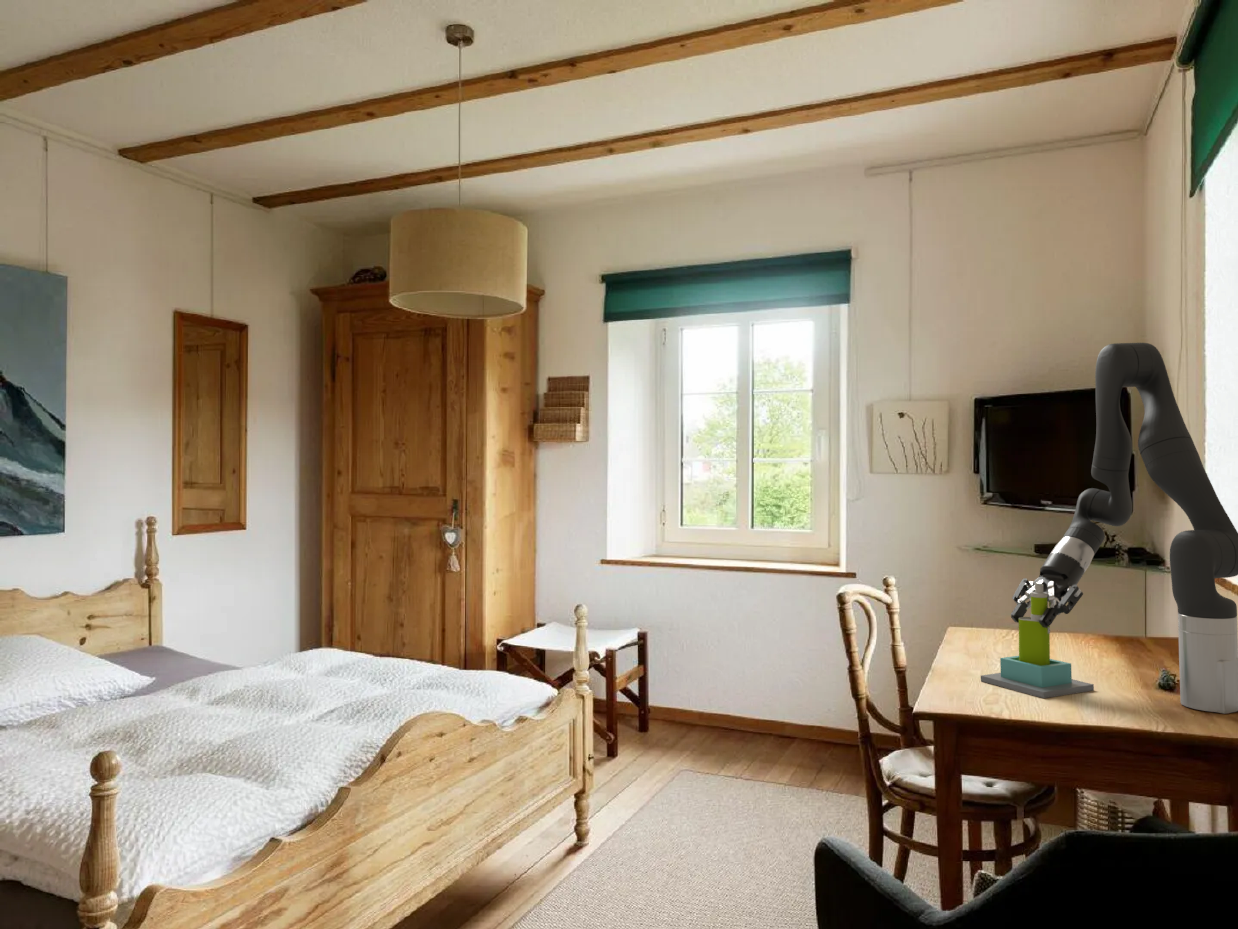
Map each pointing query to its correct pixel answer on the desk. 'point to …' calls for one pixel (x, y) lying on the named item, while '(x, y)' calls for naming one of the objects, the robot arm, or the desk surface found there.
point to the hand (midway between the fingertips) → (1028, 622)
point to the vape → (1035, 631)
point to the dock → (1037, 678)
